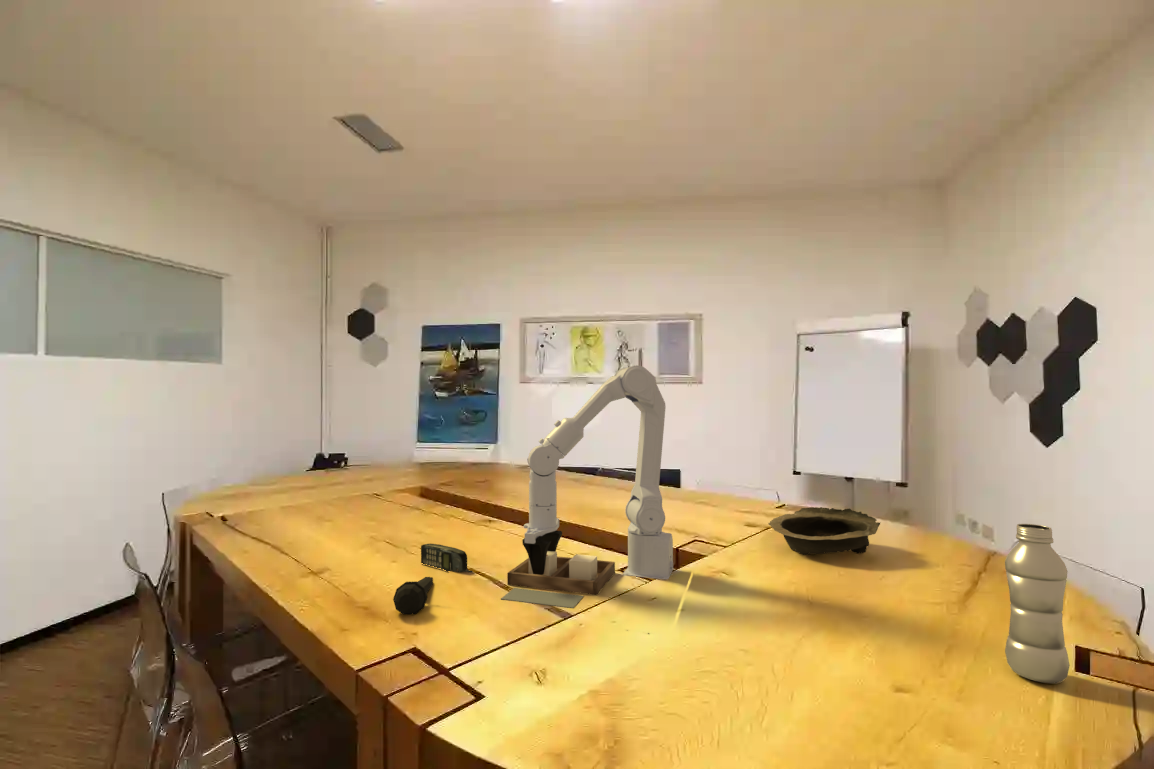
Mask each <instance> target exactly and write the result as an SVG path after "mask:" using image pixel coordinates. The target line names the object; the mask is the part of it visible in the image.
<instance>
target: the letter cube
mask: <svg viewBox="0 0 1154 769" xmlns="http://www.w3.org/2000/svg"><path fill="white" fill-rule="evenodd" d="M557 556H558V551H557V550H556V551H547V555H546V562H545V570H544V574H543V575H545V576H551V575H552V574H554V573H555V572H556V571H557ZM529 574H533V571H532V568H531V563H530V559H529ZM536 575H538V574H536Z"/></svg>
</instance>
